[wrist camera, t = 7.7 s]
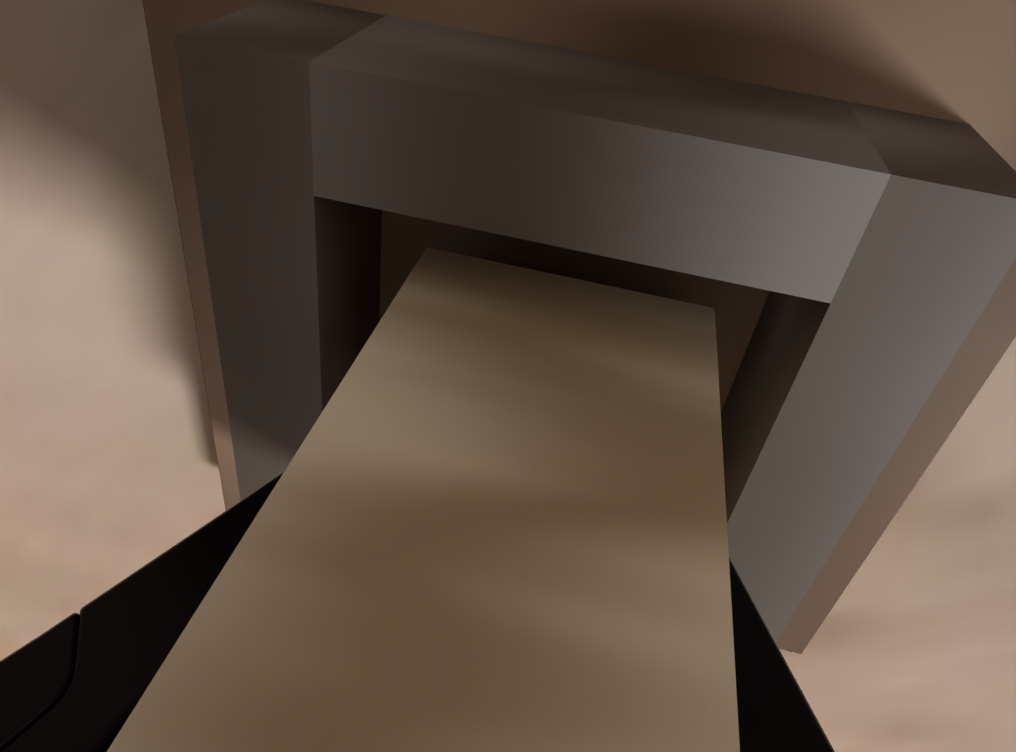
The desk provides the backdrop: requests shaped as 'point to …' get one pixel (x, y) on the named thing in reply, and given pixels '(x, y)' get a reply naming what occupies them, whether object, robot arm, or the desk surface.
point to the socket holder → (619, 217)
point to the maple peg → (481, 541)
